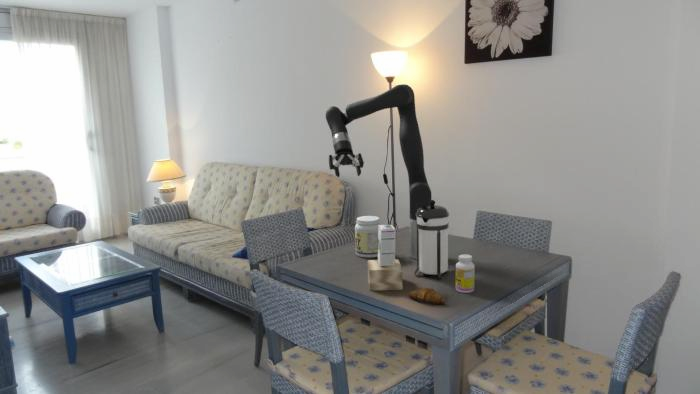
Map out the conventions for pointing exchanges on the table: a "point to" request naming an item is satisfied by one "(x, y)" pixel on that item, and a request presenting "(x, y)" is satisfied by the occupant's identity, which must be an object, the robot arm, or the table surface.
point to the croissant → (427, 296)
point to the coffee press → (432, 240)
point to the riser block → (384, 276)
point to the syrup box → (386, 245)
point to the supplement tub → (367, 236)
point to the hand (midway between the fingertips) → (348, 175)
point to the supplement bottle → (465, 274)
